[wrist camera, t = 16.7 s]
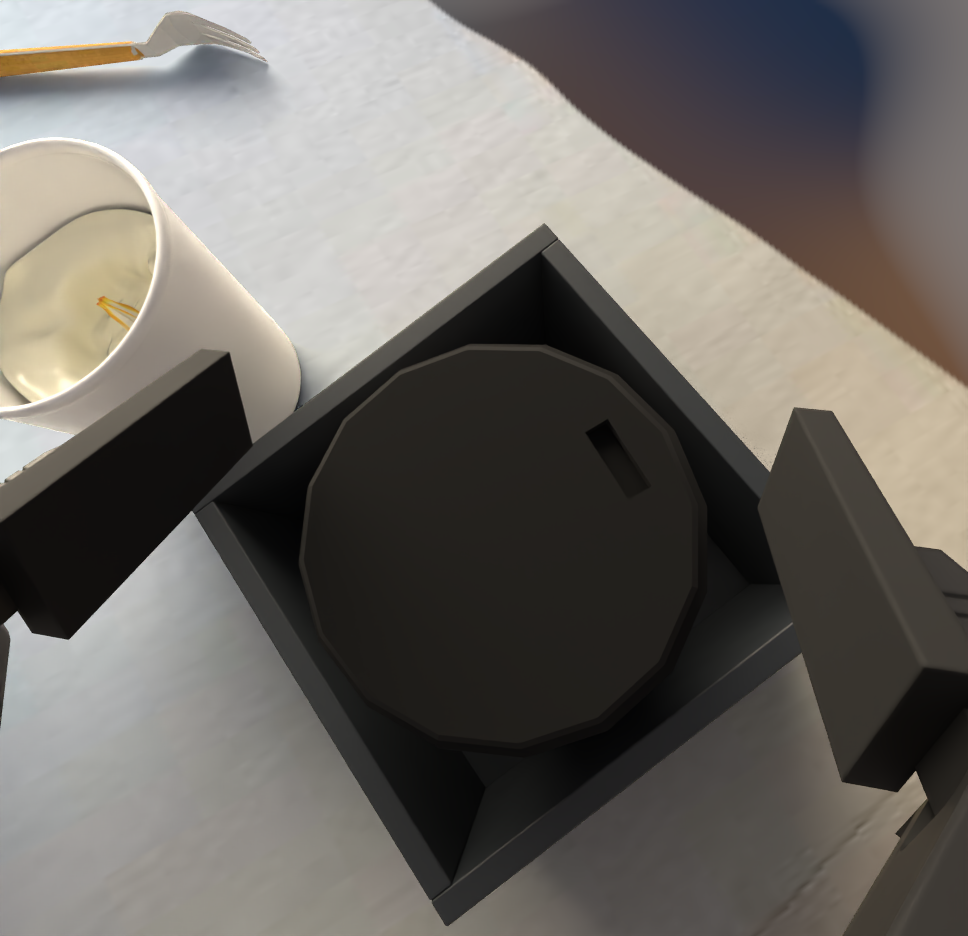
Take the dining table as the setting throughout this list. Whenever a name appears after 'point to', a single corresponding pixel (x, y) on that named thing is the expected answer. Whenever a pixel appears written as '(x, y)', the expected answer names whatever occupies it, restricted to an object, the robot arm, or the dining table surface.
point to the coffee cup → (504, 549)
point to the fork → (124, 47)
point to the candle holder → (116, 295)
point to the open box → (572, 767)
